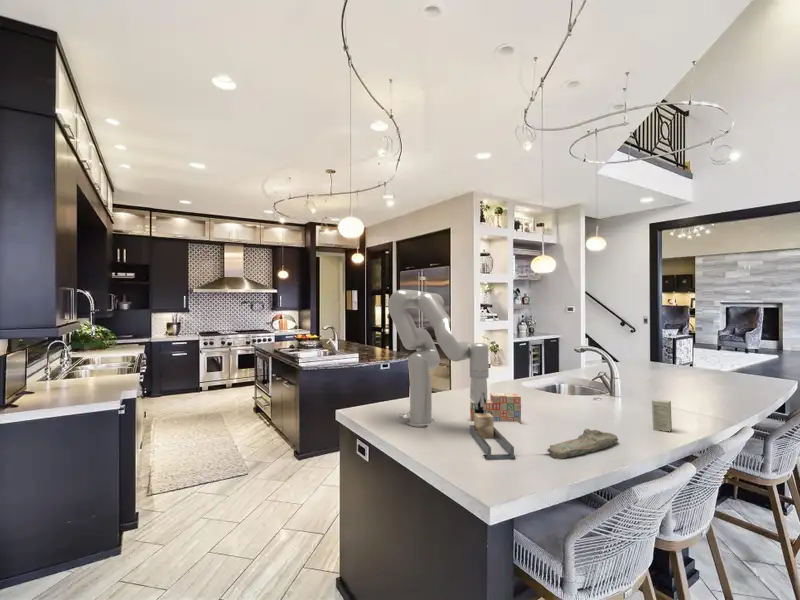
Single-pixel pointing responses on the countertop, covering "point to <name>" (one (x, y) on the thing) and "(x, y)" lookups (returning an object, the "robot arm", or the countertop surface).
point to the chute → (487, 448)
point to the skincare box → (661, 415)
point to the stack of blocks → (501, 407)
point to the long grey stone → (583, 444)
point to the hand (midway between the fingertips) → (479, 419)
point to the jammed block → (484, 424)
